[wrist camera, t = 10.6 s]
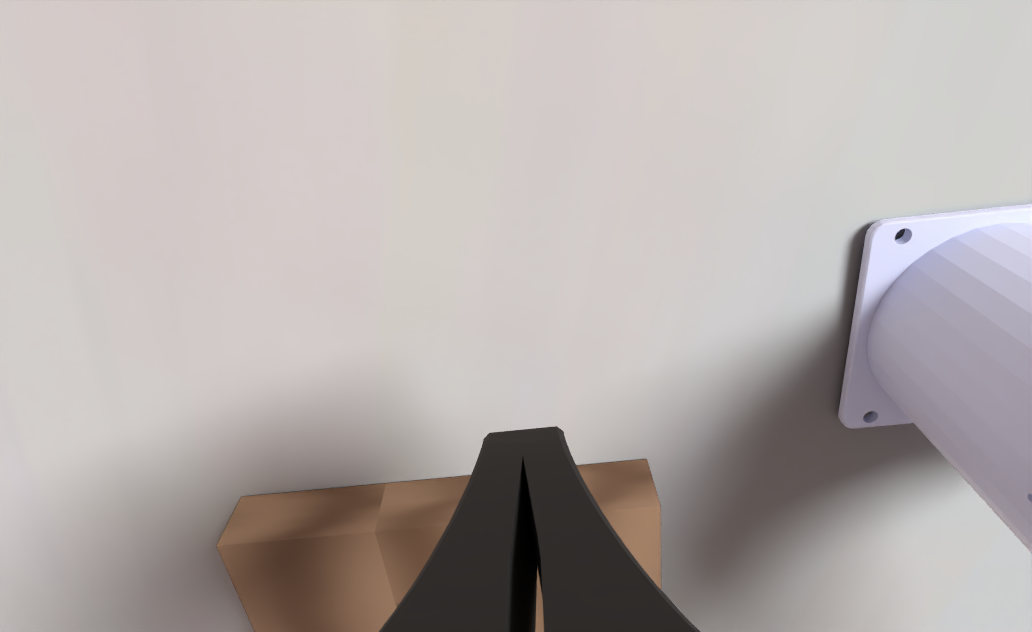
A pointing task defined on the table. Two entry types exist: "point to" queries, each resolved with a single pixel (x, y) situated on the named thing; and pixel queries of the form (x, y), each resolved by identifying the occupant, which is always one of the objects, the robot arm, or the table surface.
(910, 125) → the table surface
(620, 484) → the board
